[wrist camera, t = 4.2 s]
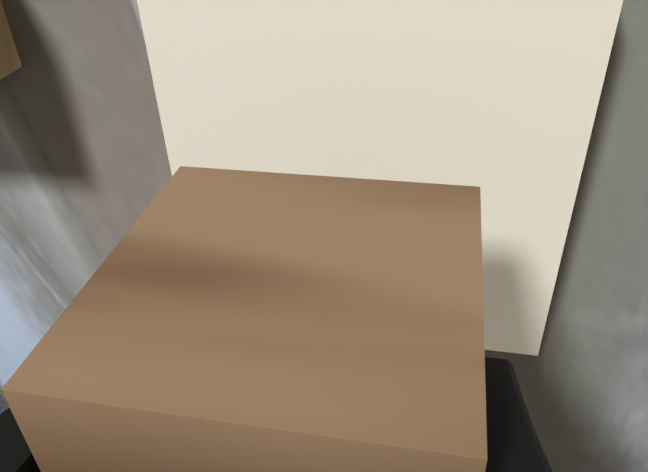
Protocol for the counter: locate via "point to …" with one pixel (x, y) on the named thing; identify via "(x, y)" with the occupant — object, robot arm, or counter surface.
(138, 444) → the walnut block
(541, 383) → the counter surface
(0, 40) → the maple block
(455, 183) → the base
